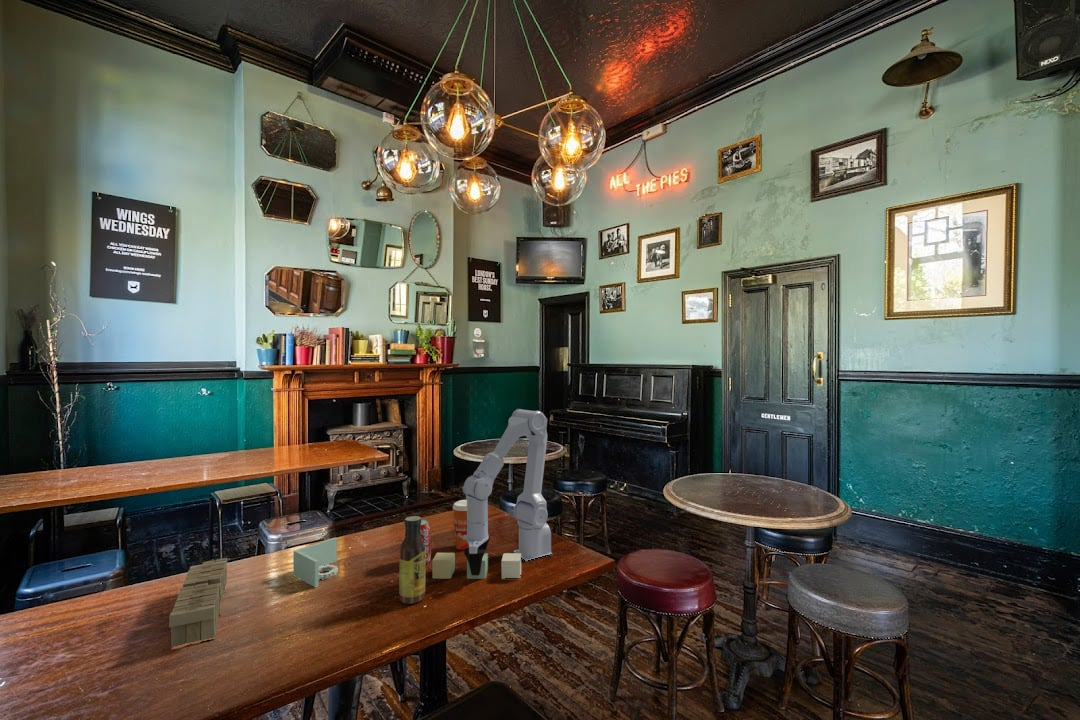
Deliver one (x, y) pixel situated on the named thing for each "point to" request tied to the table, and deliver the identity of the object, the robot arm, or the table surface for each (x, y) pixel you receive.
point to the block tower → (199, 603)
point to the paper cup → (460, 524)
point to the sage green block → (482, 572)
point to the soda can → (426, 538)
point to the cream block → (511, 565)
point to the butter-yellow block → (443, 565)
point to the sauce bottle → (412, 563)
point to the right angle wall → (315, 561)
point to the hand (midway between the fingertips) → (477, 569)
